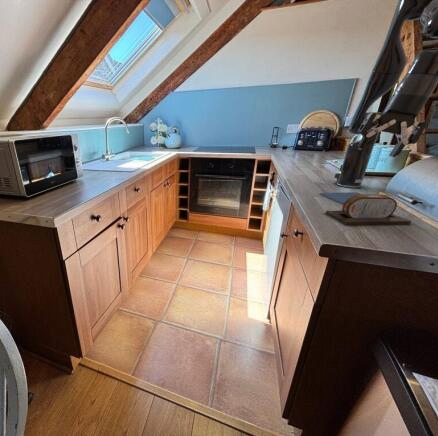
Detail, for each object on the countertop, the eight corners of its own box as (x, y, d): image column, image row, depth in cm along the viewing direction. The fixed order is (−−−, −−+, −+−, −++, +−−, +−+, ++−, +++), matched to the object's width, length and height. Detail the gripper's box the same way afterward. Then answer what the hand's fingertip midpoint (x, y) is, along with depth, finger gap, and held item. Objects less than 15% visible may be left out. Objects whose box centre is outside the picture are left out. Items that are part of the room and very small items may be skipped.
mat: (320, 194, 108) (320, 193, 108) (356, 193, 108) (356, 192, 108) (343, 204, 95) (343, 203, 95) (384, 203, 95) (384, 202, 95)
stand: (325, 213, 87) (326, 210, 86) (382, 213, 86) (383, 209, 86) (346, 225, 78) (347, 221, 77) (410, 224, 77) (411, 221, 77)
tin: (385, 217, 83) (395, 193, 79) (393, 221, 80) (403, 196, 77) (338, 216, 84) (345, 193, 81) (344, 220, 81) (352, 196, 78)
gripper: (431, 100, 69) (395, 156, 76) (375, 91, 72) (345, 146, 79) (452, 99, 62) (410, 161, 70) (389, 89, 65) (355, 149, 73)
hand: (375, 153), depth 74 cm, fingers open, 8 cm apart
